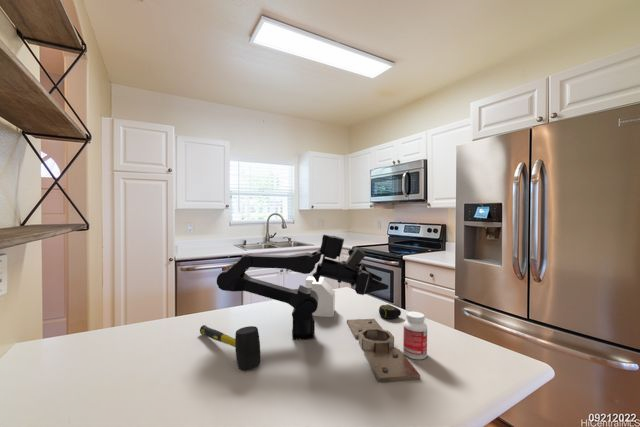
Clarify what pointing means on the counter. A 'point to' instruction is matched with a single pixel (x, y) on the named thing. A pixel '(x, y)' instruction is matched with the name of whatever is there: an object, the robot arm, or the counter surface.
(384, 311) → the tape measure
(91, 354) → the counter surface
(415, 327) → the pill bottle
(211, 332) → the mallet
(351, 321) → the brown mounting plate
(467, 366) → the counter surface
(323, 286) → the white block
